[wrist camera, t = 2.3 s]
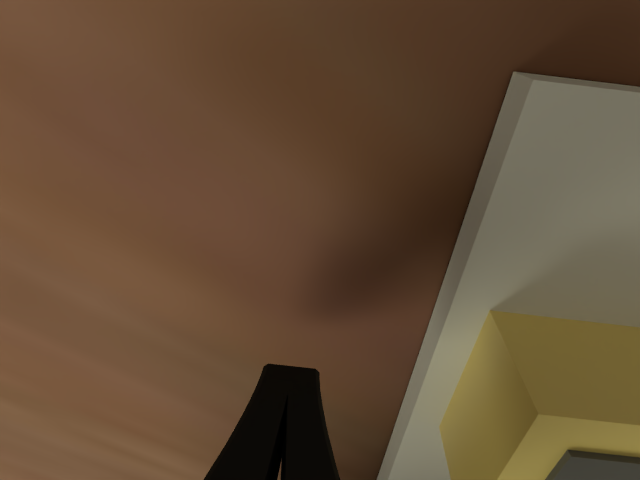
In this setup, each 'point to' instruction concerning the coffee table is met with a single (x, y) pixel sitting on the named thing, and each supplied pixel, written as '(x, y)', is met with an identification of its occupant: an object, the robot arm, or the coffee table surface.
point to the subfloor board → (532, 242)
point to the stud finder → (546, 402)
